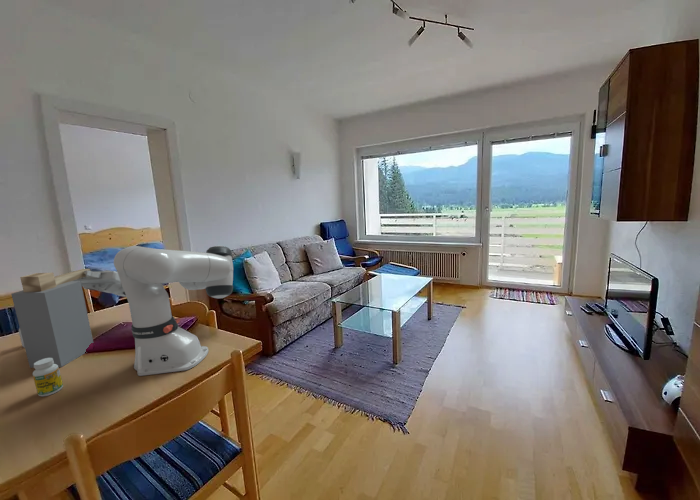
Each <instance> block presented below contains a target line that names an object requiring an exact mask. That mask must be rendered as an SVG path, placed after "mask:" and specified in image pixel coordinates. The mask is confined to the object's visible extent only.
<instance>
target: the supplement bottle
mask: <svg viewBox="0 0 700 500" xmlns="http://www.w3.org/2000/svg"><path fill="white" fill-rule="evenodd" d="M53 363H54V361H53V358H45V359H42V360H39V361H37V362H35V363H34V368H33V369H35V370H33V371H32V377H33V381H34V385H35V389H36V392H37V395H38V396H39V397H47V396H51V395H53V394H56V393H58V392H60V391H61V390H62V389H63V387H64V383H63V381H62V375H61V371H60V367H58V365H57V364H53Z"/></svg>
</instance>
